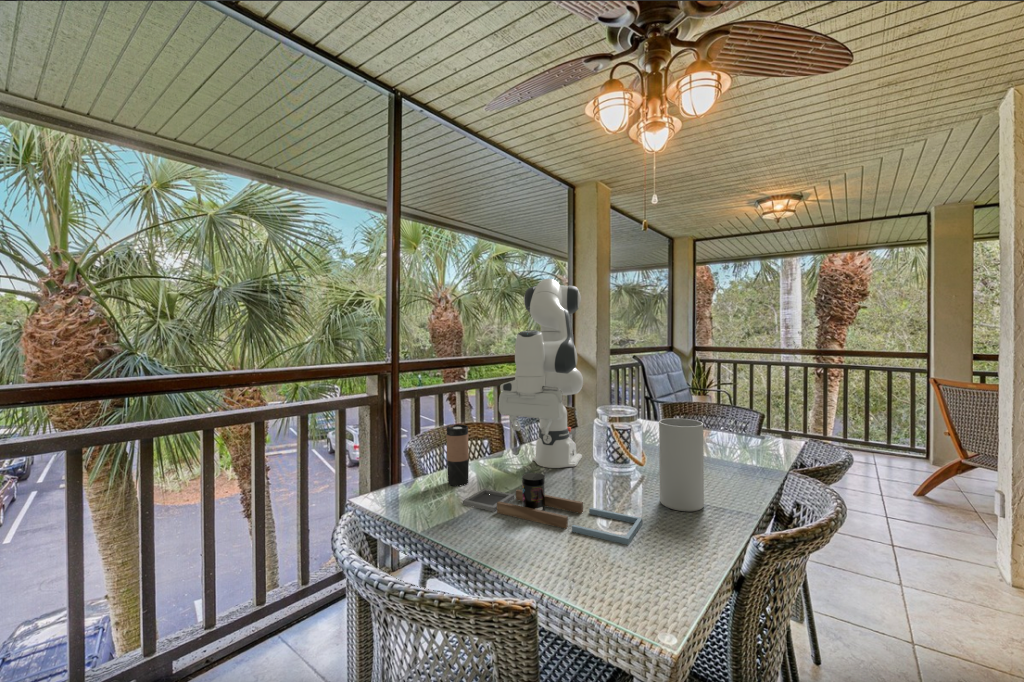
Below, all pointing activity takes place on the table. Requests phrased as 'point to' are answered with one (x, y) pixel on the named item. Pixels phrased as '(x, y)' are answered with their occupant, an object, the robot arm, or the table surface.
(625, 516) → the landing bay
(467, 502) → the tray
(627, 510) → the table surface
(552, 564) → the table surface
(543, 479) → the supplement container
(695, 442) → the cylinder vase
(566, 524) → the channel
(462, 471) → the travel mug
